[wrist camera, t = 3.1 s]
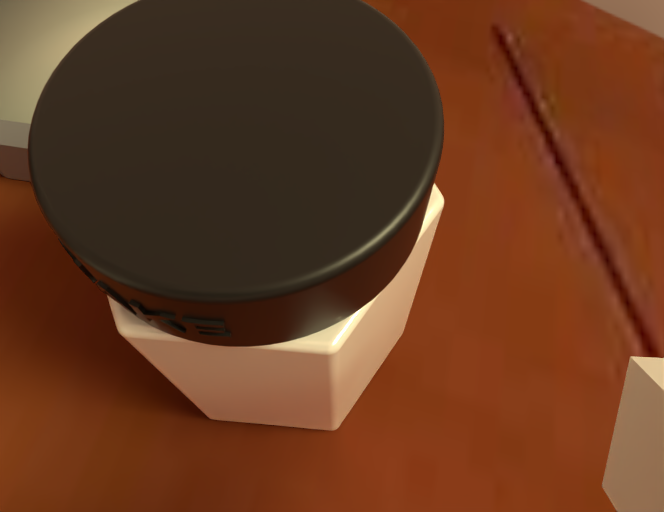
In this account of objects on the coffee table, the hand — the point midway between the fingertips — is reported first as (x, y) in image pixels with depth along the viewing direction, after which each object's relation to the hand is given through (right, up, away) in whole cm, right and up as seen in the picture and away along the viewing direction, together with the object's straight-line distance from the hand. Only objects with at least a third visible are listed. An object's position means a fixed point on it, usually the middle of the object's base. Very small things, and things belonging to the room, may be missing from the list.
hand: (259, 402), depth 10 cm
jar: (0, 0, +11) cm, 11 cm away
